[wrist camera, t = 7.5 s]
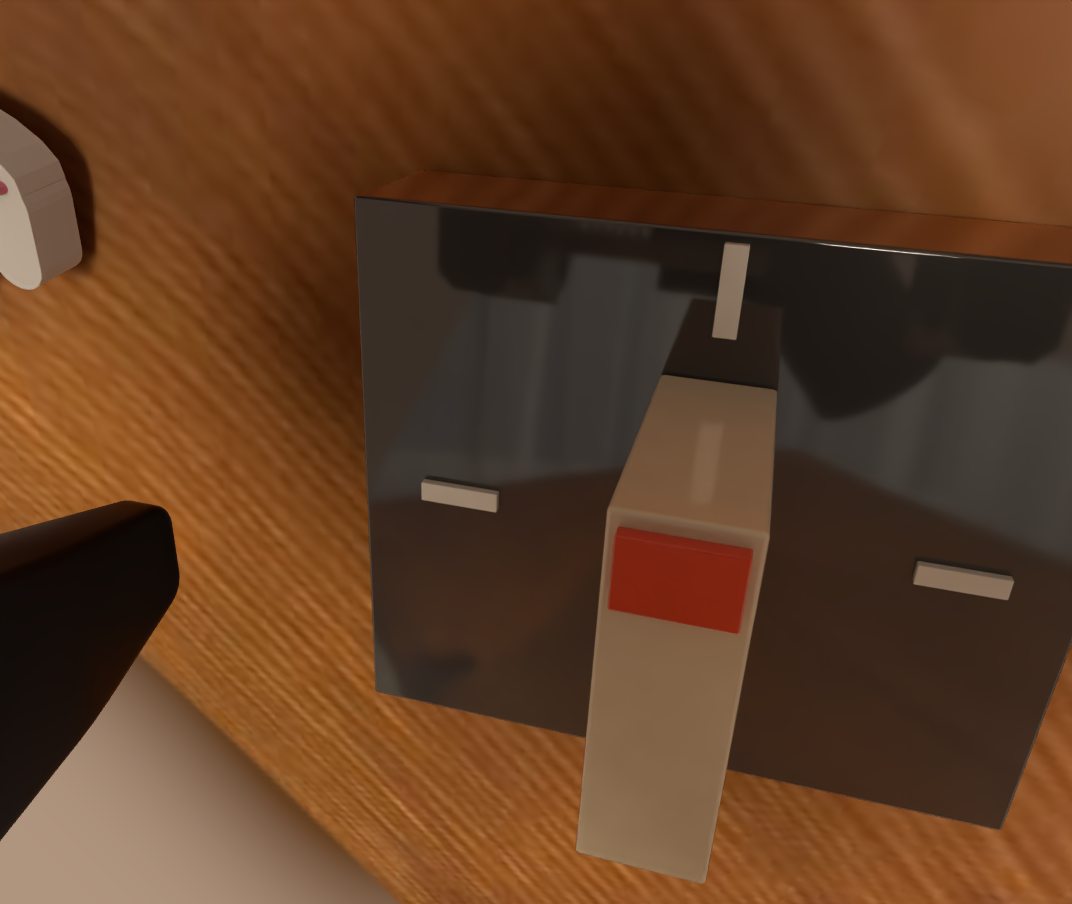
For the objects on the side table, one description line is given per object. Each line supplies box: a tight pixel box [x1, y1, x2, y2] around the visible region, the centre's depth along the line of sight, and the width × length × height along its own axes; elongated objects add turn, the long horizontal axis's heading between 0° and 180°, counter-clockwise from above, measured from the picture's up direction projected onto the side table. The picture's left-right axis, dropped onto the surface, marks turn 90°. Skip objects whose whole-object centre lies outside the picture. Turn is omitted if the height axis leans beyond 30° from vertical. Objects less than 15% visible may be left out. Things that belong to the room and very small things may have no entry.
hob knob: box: [576, 375, 778, 884], centre depth 13 cm, size 6×2×5 cm, turn 177°
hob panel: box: [354, 170, 1072, 830], centre depth 16 cm, size 12×10×3 cm
